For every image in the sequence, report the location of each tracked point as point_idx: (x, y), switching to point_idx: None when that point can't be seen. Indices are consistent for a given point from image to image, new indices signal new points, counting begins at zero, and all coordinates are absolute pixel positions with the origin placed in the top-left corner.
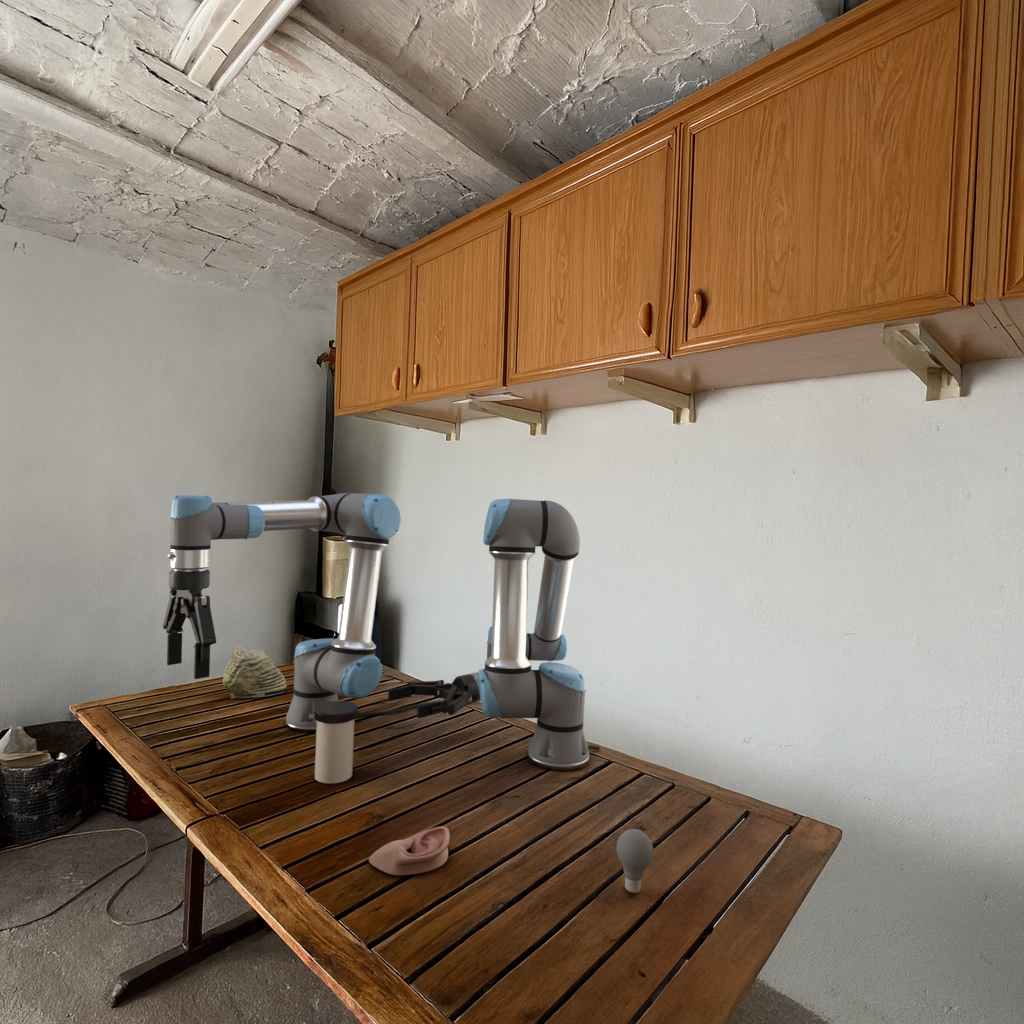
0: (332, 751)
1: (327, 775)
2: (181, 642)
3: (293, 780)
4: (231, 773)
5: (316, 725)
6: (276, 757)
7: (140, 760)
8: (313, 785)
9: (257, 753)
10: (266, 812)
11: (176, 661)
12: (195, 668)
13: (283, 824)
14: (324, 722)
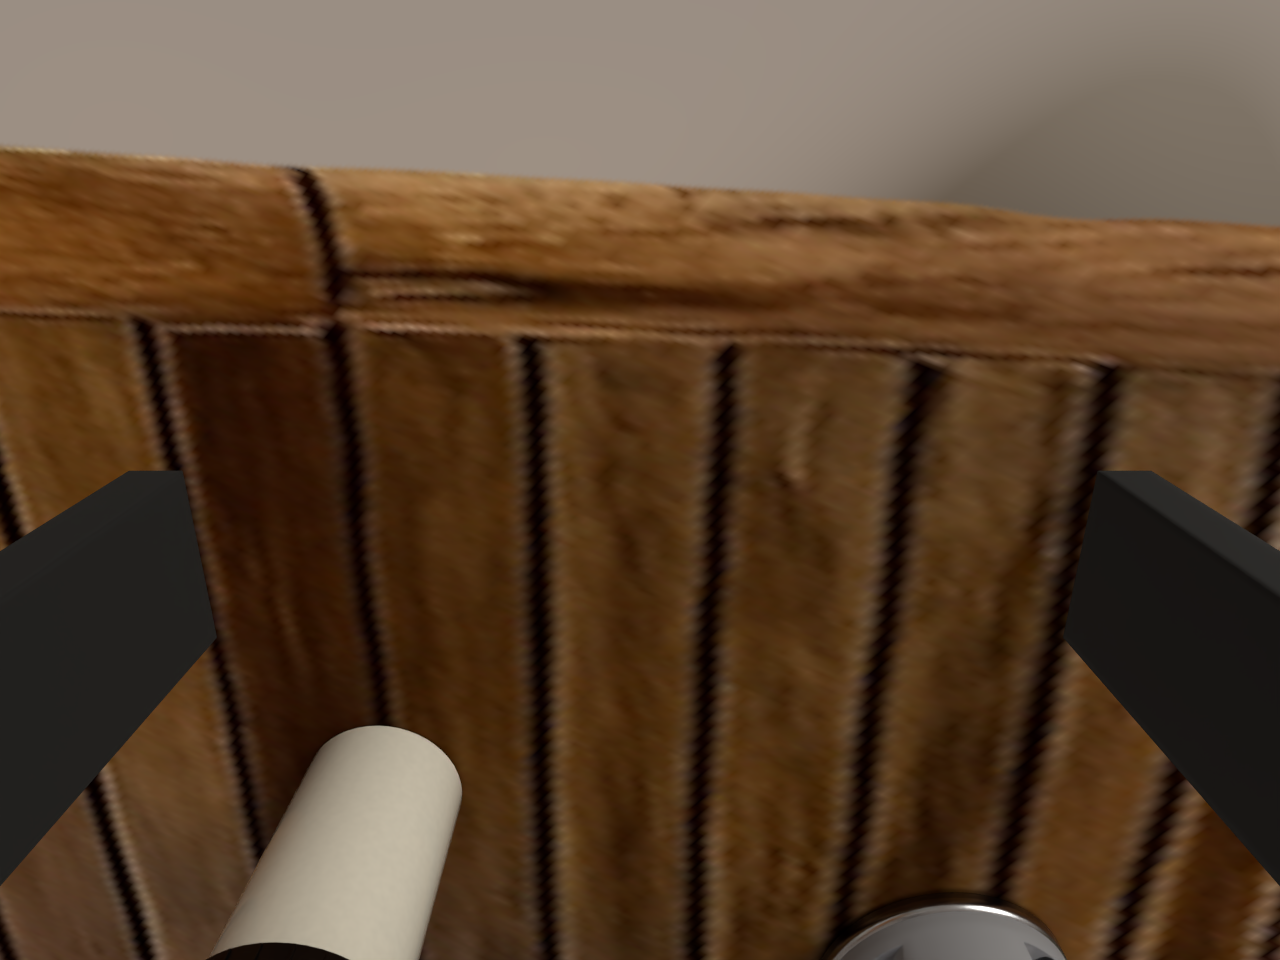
0: (265, 851)
1: (319, 760)
2: (1274, 865)
3: (445, 667)
4: (692, 525)
5: (341, 922)
6: (711, 723)
7: (1181, 277)
8: (349, 696)
9: (813, 690)
10: (228, 463)
11: (1096, 593)
12: (41, 533)
13: (87, 463)
14: (223, 953)
